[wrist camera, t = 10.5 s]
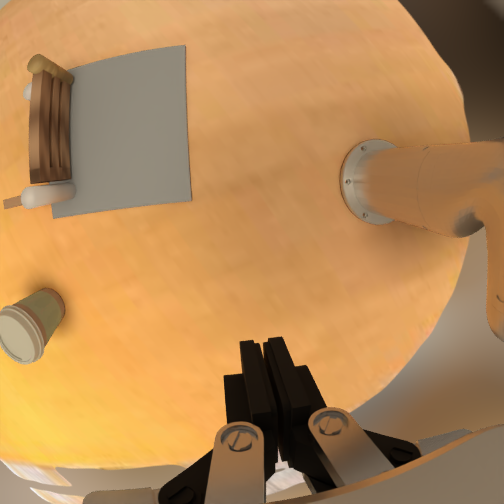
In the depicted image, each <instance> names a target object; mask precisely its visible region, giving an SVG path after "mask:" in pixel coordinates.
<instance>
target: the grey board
mask: <svg viewBox="0 0 504 504" xmlns="http://www.w3.org/2000/svg"><path fill="white" fill-rule="evenodd" d="M67 71H68V72H69V73H71V74H72V75H73V81H72V83H71V85H70V101H69V156H70V174H71V179H69V180H64V181H55V182H49V185H41V186H33V187H27V188H25V189H24V190H23V191H22V194H21V196H17V197H13V198H9V199H6V200H3V202H4V209H8V208H12V207H17V206H21V205H23V206H24V208H26V209H31V208H36V207H40V206H44V205H48V204H51V206H52V214H53V219H55V218H61V217H67V216H74V215H80V214H87V213H94V212H101V211H108V210H115V209H123V208H131V207H139V206H148V205H157V204H166V203H176V202H186V201H192V196H191V183H190V168H189V152H188V132H187V107H186V46H185V45H181V46H172V47H165V48H158V49H152V50H146V51H141V52H135V53H130V54H126V55H121V56H117V57H112V58H108V59H104V60H100V61H97V62H93V63H89V64H86V65H83V66H79V67H76V68H73V69H70V70H67ZM31 88H32V82H31V83H29V84H28V85H27V86H26V87H25V89H24V92H23V97H24V98H25V99H26V100H29V101H30V99H31Z"/></svg>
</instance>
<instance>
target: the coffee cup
mask: <svg viewBox="0 0 504 504" xmlns="http://www.w3.org/2000/svg"><path fill="white" fill-rule="evenodd" d="M64 314H65V306H64V303H63V300H62V299H61V297H60V296H59V295H58V293H56V292H55V291H54V290H52V289H49V288H44V289H42V290H40V291H38V292H36V293H34V294H32V295H30V296H28V297H26V298H24V299H22V300H21V301H19V302H17V303H15V304H13V305H9V306H5V307H4V308H3V309H2V310H1V311H0V346H1V348H2V349H3V350H4V352H5V353H6V354H7V355H8V356H9V357H10V358H11V359H13V360H14V361H16V362H18V363H20V364H30V363H32V362H35V361H37V360H38V359H40V358H41V357H42V355H43V353H44V348H45V346H46V344H47V343H48V341H49V339H50V338H51V336H52V334H53V333H54V331H55V329H56V328H57V326H58V324H59V323H60V321H61V320H62V318H63V316H64Z"/></svg>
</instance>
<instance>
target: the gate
mask: <svg viewBox="0 0 504 504" xmlns="http://www.w3.org/2000/svg"><path fill="white" fill-rule="evenodd" d="M27 69H28V71H29V72H31V73H33V78H32V88H31V99H30V115H29V167H30V183H31V184H35V183H45V182H55V181H64V180H69V179H71V174H70V156H69V101H70V85H71V83H72V81H73V75H72V74H71V73H69V72H68V71H66V70H65V69H63V68H61V67H60V66H58V65H57V64H55V63H54V62H52V61H50V60H49V59H47V58H46V57H44V56H43V55H41V54H37V55H35V56H33V57H32V58H31V59H30V61H29V63H28V66H27Z"/></svg>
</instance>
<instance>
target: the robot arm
mask: <svg viewBox="0 0 504 504" xmlns="http://www.w3.org/2000/svg"><path fill="white" fill-rule="evenodd" d="M361 148H362V150H361ZM345 180H346V181H347V182H346V183H345ZM340 186H341V192H342V195H343V198H344V201H345V203H346V205H347V207H348V208H349V209H350V211H351V212H352V213H353V214H354V215H355V216H356V217H358V218H359V219H361V220H362V221H364V222H367V223H370V224H375V225H384V224H387V223H391V222H392V221H394V220H397V221H401V222H404V223H407V224H410V225H413V226H417V227H420V228H423V229H426V230H429V231H432V232H435V233H438V234H442V235H445V236H448V237H453V238H462V237H467V236H470V235H472V234H474V233H475V232H477V231H479V230H480V229H481V228H482V227H484V226H485V229H486V238H487V250H488V273H487V299H486V300H487V301H486V313H487V320H488V323H489V326H490V328H491V330H492V332H493V333H494V334H495V336H496V337H497V338H499V339H500V340H501V341H503V342H504V137H501V138H497V139H492V140H486V141H480V142H471V143H459V144H442V145H426V146H412V147H400V148H398V147H396V146H395V145H394V144H392V143H390V142H388V141H385V140H380V139H372V140H367V141H364V142H361V143H359V144H358V145H356V146H355V147H354V148H353V149H352V150H351V151H350V152H349V153H348V155H347V156H346V158H345V160H344V163H343V165H342V169H341V174H340ZM363 213H364V215H363ZM240 354H241V364H242V374H233V375H224V389H225V403H226V416H227V425H225V426H223V427H222V428H221V429H220V430H219V431H218V432H217V434H216V437H215V442H214V448H213V449H212V450H211V451H209V452H208V453H207V454H206V455H204V456H203V457H202V458H200V459H199V460H198V461H197V462H195V463H194V464H193V465H191V466H190V467H189V468H187V469H186V470H185V471H183V472H182V473H180V474H179V475H178V476H176V477H175V478H173V479H172V480H171V481H169V482H168V483H166V484H165V485H164V486H163V487H162V488H161V489H153V490H152V488H151V487H149V488H139V489H127V490H110V491H95V492H91V493H90V494H88V495H87V496H86V497H85V498H84V500H83V504H504V424H498V425H494V426H489V427H486V428H482V429H480V430H477V431H474V432H472V431H470V430H467V429H460V430H456V431H452V432H449V433H446V434H442V435H438V436H434V437H430V438H426V439H422V440H418V441H417V442H416V443H415V444H413V443H410V442H408V441H404V440H400V439H396V438H393V437H389V436H385V435H381V434H378V433H374V432H371V431H367V430H364V429H362V428H361V427H360V426H359V424H358V423H357V422H356V421H355V420H354V418H353V417H352V416H351V415H350V414H349V413H348V412H347V411H345V410H343V409H340V408H335V407H328V408H327V406H326V404H325V402H324V400H323V398H322V396H321V393H320V391H319V389H318V387H317V385H316V383H315V381H314V379H313V377H312V375H311V373H310V371H309V368H308V367H307V366H306V365H302V366H296V367H295V366H294V363H293V361H292V358H291V356H290V354H289V351H288V349H287V347H286V344H285V342H284V339H283V337H274V338H268V342H263V354H264V358H263V355H262V351H261V347H260V344H259V343H254V341H253V340H248V341H240ZM278 449H279V453H280V456H281V460H282V462H284V461H287V462H288V466H289V468H294V469H295V470H297V471H299V472H302V475H303V478H304V480H305V482H306V484H307V486H308V488H309V489H310V491H311V493H312V495H308V496H303V497H298V498H293V499H287V500H282V501H275V502H269V503H266V481H267V480H268V479H269V478H270V477H271V476H272V475H273V474H274V473H275V463H277V462H278Z"/></svg>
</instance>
